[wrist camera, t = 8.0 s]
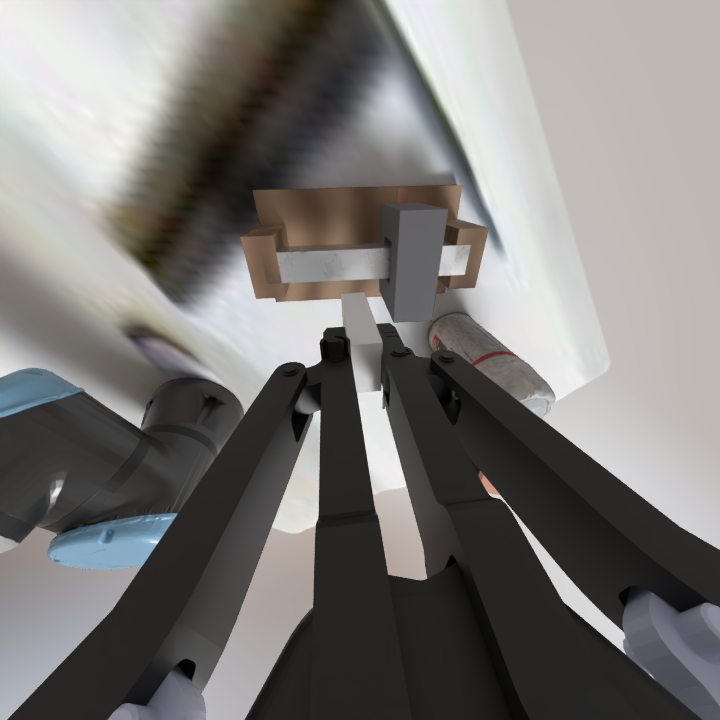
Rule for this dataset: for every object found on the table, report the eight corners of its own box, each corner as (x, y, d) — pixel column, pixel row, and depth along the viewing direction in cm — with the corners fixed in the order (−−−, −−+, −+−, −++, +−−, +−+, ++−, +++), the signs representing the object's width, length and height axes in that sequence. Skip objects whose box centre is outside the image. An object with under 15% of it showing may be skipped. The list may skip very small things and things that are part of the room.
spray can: (436, 306, 40) (508, 390, 24) (484, 312, 42) (583, 395, 25) (420, 351, 45) (472, 449, 28) (464, 355, 46) (537, 451, 30)
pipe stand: (277, 297, 37) (263, 328, 29) (255, 189, 30) (228, 192, 22) (440, 289, 39) (468, 316, 31) (457, 185, 31) (498, 185, 24)
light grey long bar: (273, 277, 30) (267, 287, 27) (266, 243, 28) (259, 250, 25) (452, 269, 31) (465, 278, 28) (458, 236, 29) (472, 242, 26)
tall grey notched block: (379, 289, 35) (393, 322, 27) (381, 203, 29) (400, 210, 21) (408, 288, 35) (431, 320, 27) (415, 202, 29) (448, 209, 21)
